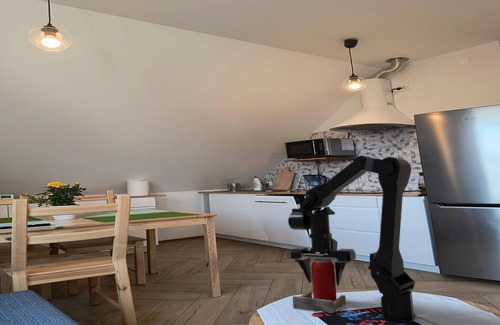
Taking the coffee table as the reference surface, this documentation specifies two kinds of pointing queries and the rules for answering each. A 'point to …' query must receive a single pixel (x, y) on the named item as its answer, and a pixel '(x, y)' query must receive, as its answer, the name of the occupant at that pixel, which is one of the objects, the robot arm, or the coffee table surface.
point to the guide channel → (317, 303)
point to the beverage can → (323, 279)
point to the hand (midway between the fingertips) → (323, 283)
